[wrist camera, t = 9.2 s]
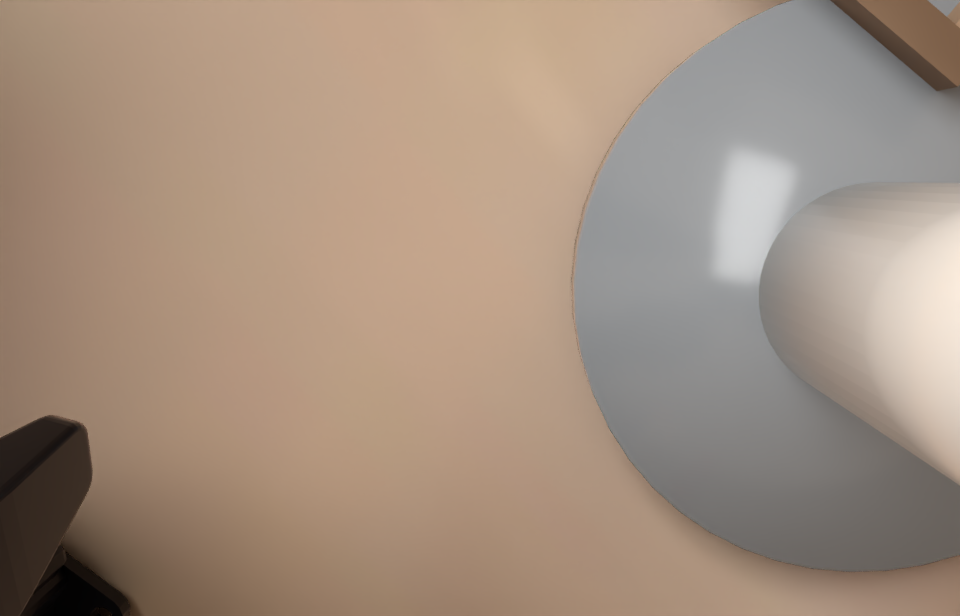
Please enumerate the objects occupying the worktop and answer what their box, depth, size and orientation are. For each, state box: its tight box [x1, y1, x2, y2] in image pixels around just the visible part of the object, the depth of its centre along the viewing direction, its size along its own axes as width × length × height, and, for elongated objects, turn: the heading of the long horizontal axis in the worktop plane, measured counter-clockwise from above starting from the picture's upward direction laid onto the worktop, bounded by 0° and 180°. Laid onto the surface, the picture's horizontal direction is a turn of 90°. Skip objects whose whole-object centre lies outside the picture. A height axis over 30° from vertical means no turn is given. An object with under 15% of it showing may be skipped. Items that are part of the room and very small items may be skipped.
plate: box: [571, 0, 960, 572], centre depth 18 cm, size 12×12×1 cm
